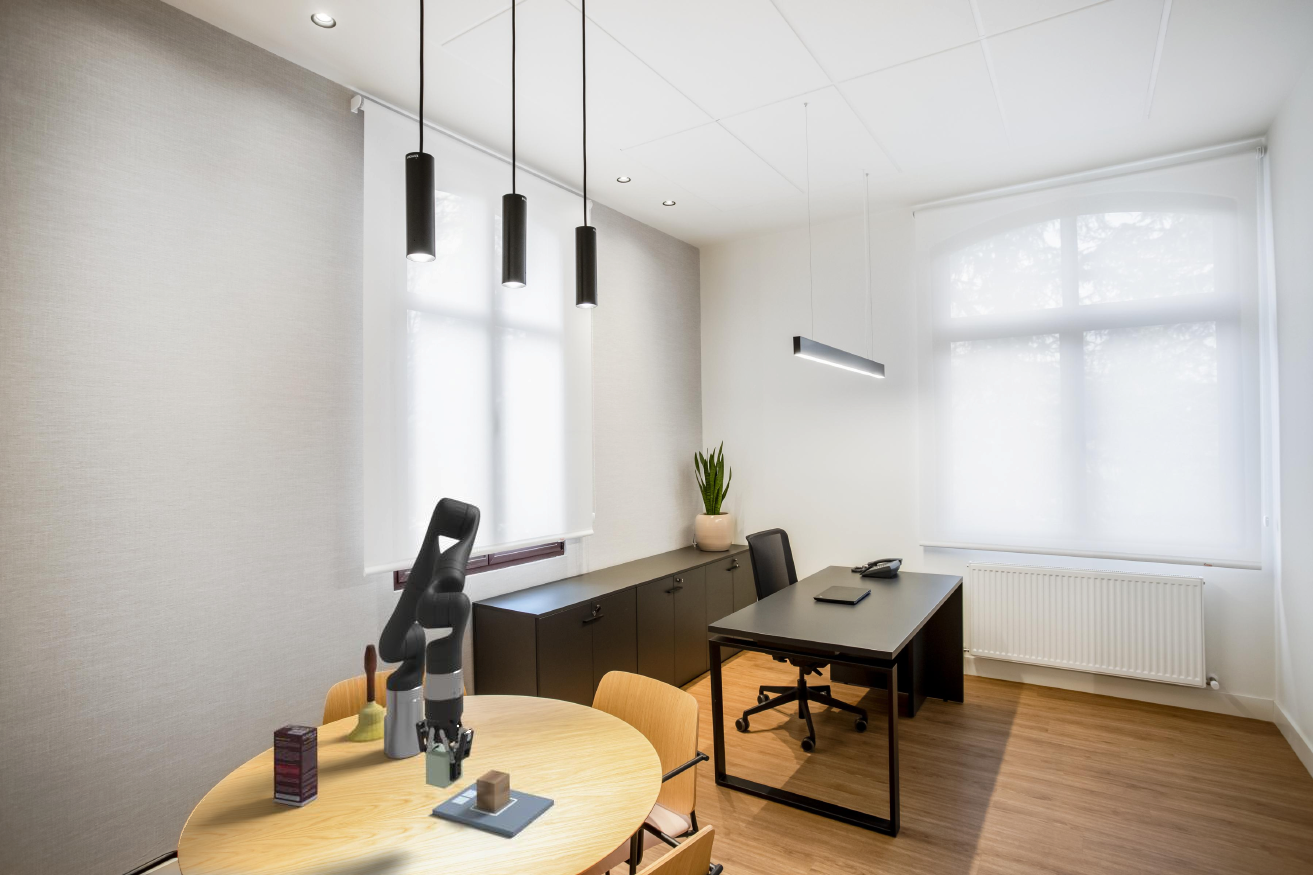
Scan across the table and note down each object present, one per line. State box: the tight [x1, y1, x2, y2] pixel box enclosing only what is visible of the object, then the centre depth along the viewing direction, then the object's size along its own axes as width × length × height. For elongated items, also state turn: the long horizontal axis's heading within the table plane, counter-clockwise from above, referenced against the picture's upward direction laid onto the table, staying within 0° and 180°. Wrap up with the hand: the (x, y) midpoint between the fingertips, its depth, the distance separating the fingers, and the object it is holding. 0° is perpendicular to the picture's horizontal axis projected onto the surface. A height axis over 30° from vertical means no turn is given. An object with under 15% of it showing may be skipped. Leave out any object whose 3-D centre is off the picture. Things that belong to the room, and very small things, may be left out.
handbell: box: [347, 644, 385, 744], centre depth 189 cm, size 12×12×25 cm
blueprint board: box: [431, 781, 555, 838], centre depth 144 cm, size 22×14×1 cm, turn 63°
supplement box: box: [273, 724, 319, 808], centre depth 151 cm, size 9×5×16 cm, turn 71°
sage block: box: [425, 744, 464, 790], centre depth 133 cm, size 5×5×6 cm
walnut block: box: [475, 769, 511, 812], centre depth 144 cm, size 5×5×6 cm
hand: (444, 776), depth 133 cm, fingers closed on sage block, 5 cm apart
